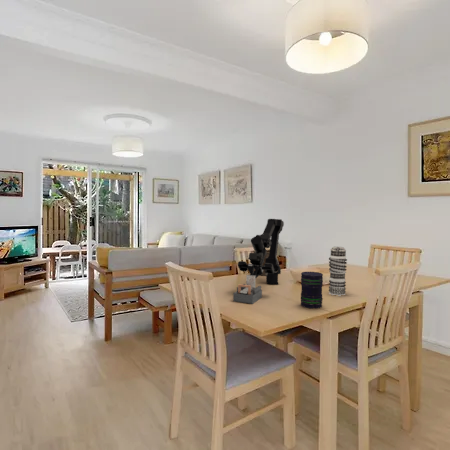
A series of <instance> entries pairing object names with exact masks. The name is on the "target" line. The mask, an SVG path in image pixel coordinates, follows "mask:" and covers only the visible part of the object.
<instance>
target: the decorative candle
mask: <svg viewBox="0 0 450 450" xmlns="http://www.w3.org/2000/svg"><path fill="white" fill-rule="evenodd" d="M329 250H330V255H329V258H328V266H329V269H328V270H329V274H330V275H329V280H328V282H329V283H328V285H329V286H328V295H330V294H331V295H330V296H333V295H338V296H337V297H342V296H341V295H345V296H346V292H347V291H346V290H347V288H346V286H347V285H346V283H347V282H346V273H347V264H348V262H347V261H348V259H347V256H346V255H347V253H346V252H347V250H346V248H345V247H343V246H333V247H331V248H330V249H329Z"/></svg>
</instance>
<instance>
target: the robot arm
mask: <svg viewBox="0 0 450 450" xmlns="http://www.w3.org/2000/svg"><path fill="white" fill-rule="evenodd" d="M266 221H267V222H266V225H265V228H264V229H263V233H262V234H256V235H255V236H253V237H252V238H251V240H250V242H251V245H252V248H253V251H254V250H255V253H254V252H249V253H248V260H249V263H247V261H245V260H238V263H237V267H238V269H239V271H240V272H245V273H246V272H247V271H248V272H249V275H255V280H256V279H257V278H258V277H259V276H262V275H261V274H263V270H265V273H267V275H266V276H265V278H266V279H265V280H266V284H267V285H279V275H281V273H282V271H281V266H280V261H279V260H278V250H279V248H278V247H279V239H280V234H281V232H282V231H283V229H284V228H283V227H284V225H285V222H284V220H282V219H280V218H277V219H276V218H268V219H267V220H266ZM267 249H269V250H270V251H269V257H268V258H266V261H265V264H264V266H263V265H262V264H263V263H264V258H265V255H266V250H267Z"/></svg>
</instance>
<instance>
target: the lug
mask: <svg viewBox="0 0 450 450" xmlns="http://www.w3.org/2000/svg"><path fill="white" fill-rule="evenodd" d="M237 287H238V293H240V291H241V287H248V294H251V286H250V285H243V283H242V284H241V283H240V284H237Z"/></svg>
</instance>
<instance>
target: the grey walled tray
mask: <svg viewBox="0 0 450 450" xmlns="http://www.w3.org/2000/svg"><path fill="white" fill-rule="evenodd" d="M242 285H246V283H242ZM245 288H246V287H241V290H243V289H245ZM232 294H233V295H232V300H233V302H235V303H236V302H237V303H244V304H251V305H253V304H255V303H256V302H258V301H259V300H260V299H262V298H263V289H262V285H258V286H255V288H254V289H253V290H252V291H251V294H248V293H247V294H246V293H238V286H237V287H236V291H235V292H233V293H232Z"/></svg>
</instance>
